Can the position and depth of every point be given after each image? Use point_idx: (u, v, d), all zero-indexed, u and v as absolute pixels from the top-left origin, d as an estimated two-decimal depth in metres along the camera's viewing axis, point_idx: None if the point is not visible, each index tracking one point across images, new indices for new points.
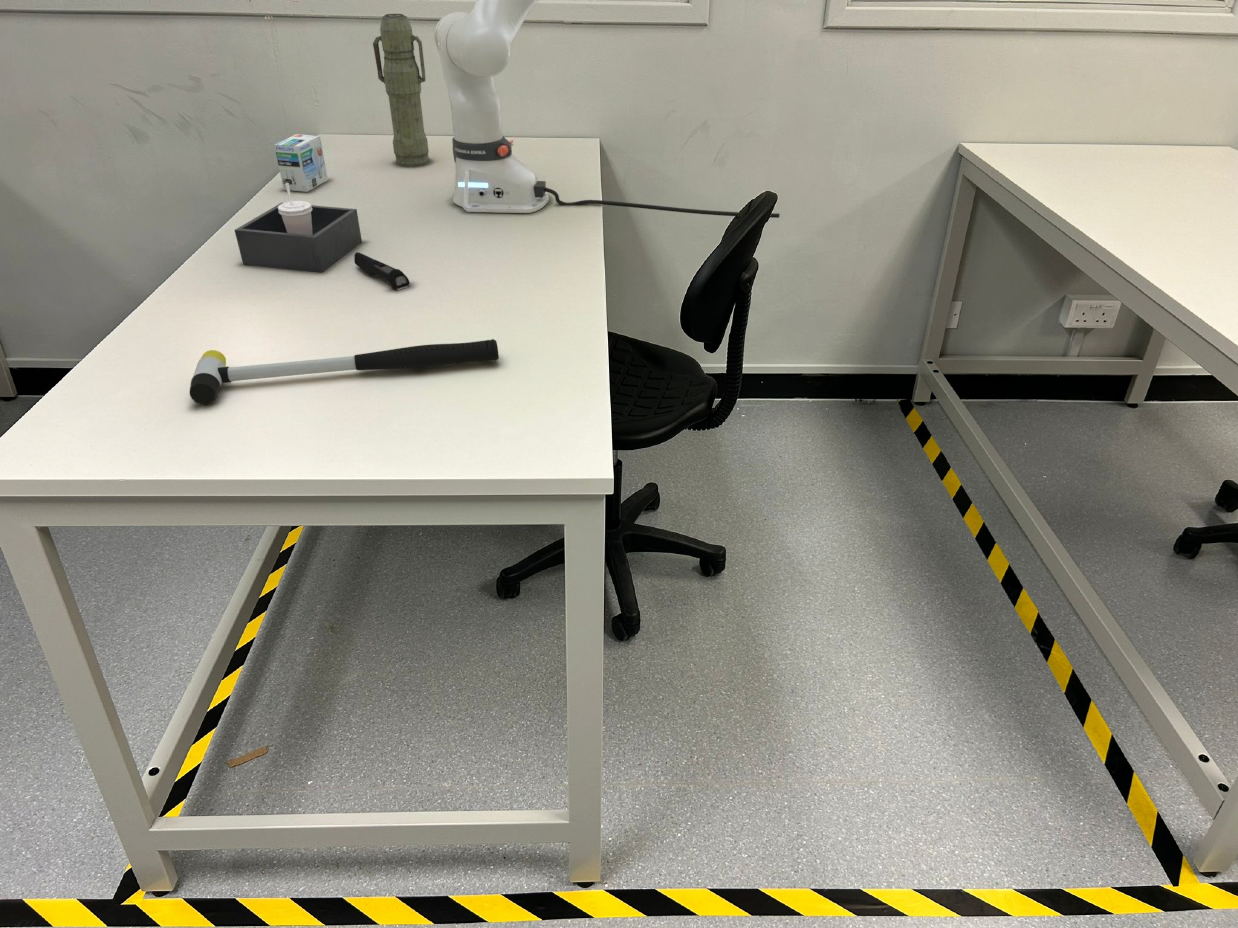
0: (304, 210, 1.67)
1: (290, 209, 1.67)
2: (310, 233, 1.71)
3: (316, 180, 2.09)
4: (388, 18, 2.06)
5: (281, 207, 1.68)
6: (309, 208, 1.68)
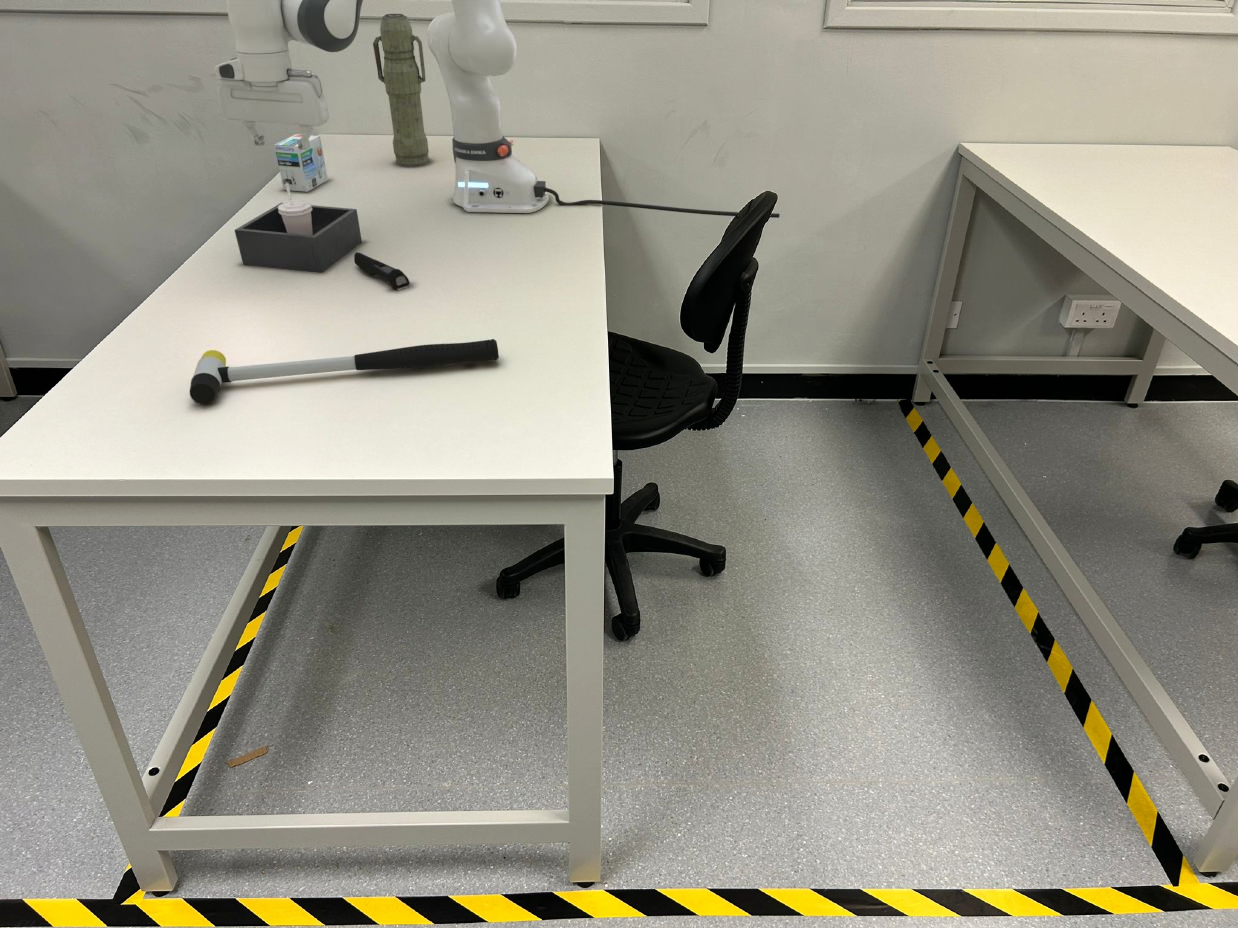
0: (304, 210, 1.67)
1: (290, 209, 1.67)
2: (310, 233, 1.71)
3: (316, 180, 2.09)
4: (388, 18, 2.06)
5: (281, 207, 1.68)
6: (309, 208, 1.68)
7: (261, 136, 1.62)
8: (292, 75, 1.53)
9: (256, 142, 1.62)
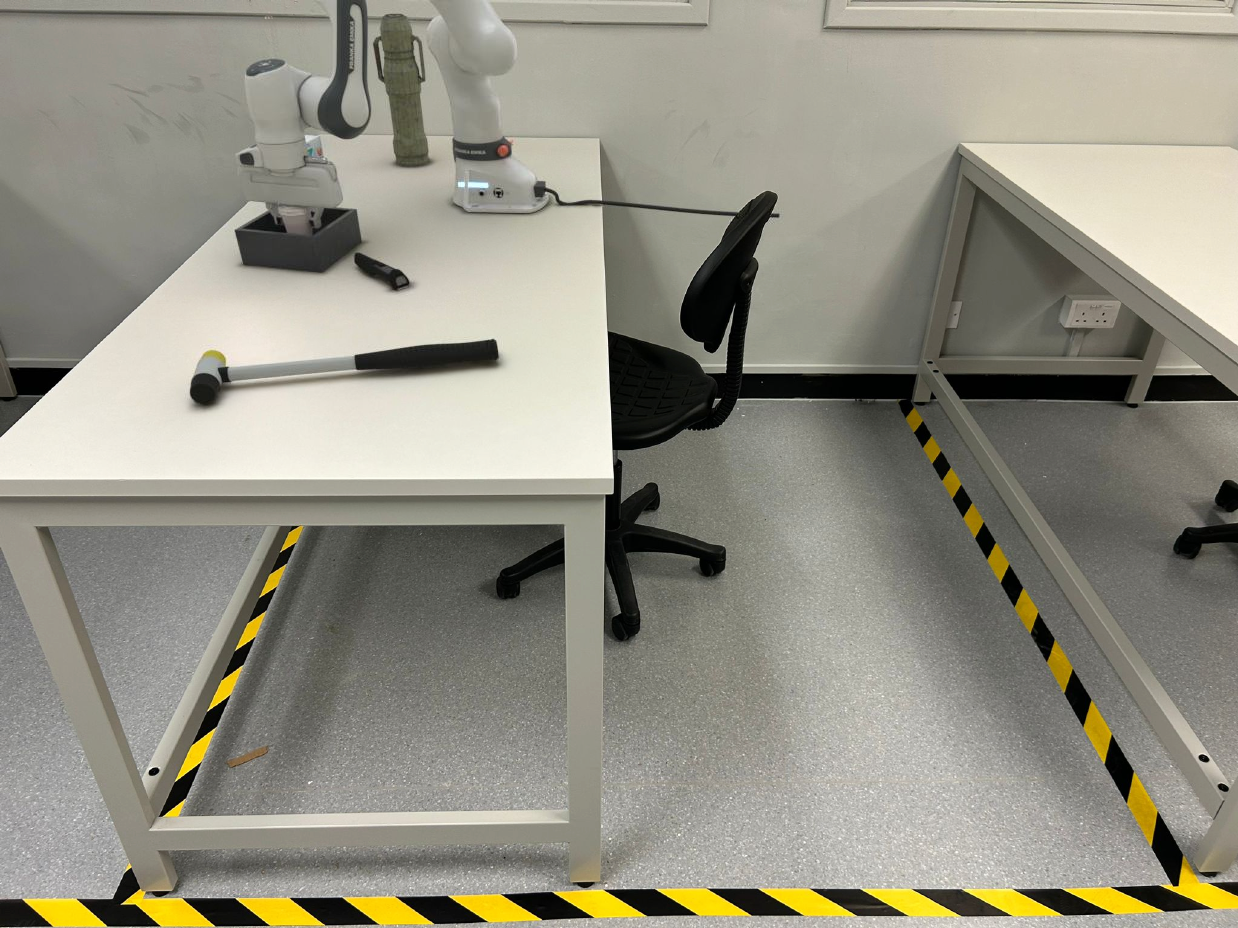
0: (304, 210, 1.67)
1: (290, 209, 1.67)
2: (310, 233, 1.71)
3: None
4: (388, 18, 2.06)
5: (281, 207, 1.68)
6: (309, 208, 1.68)
7: None
8: (308, 162, 1.62)
9: (278, 221, 1.70)
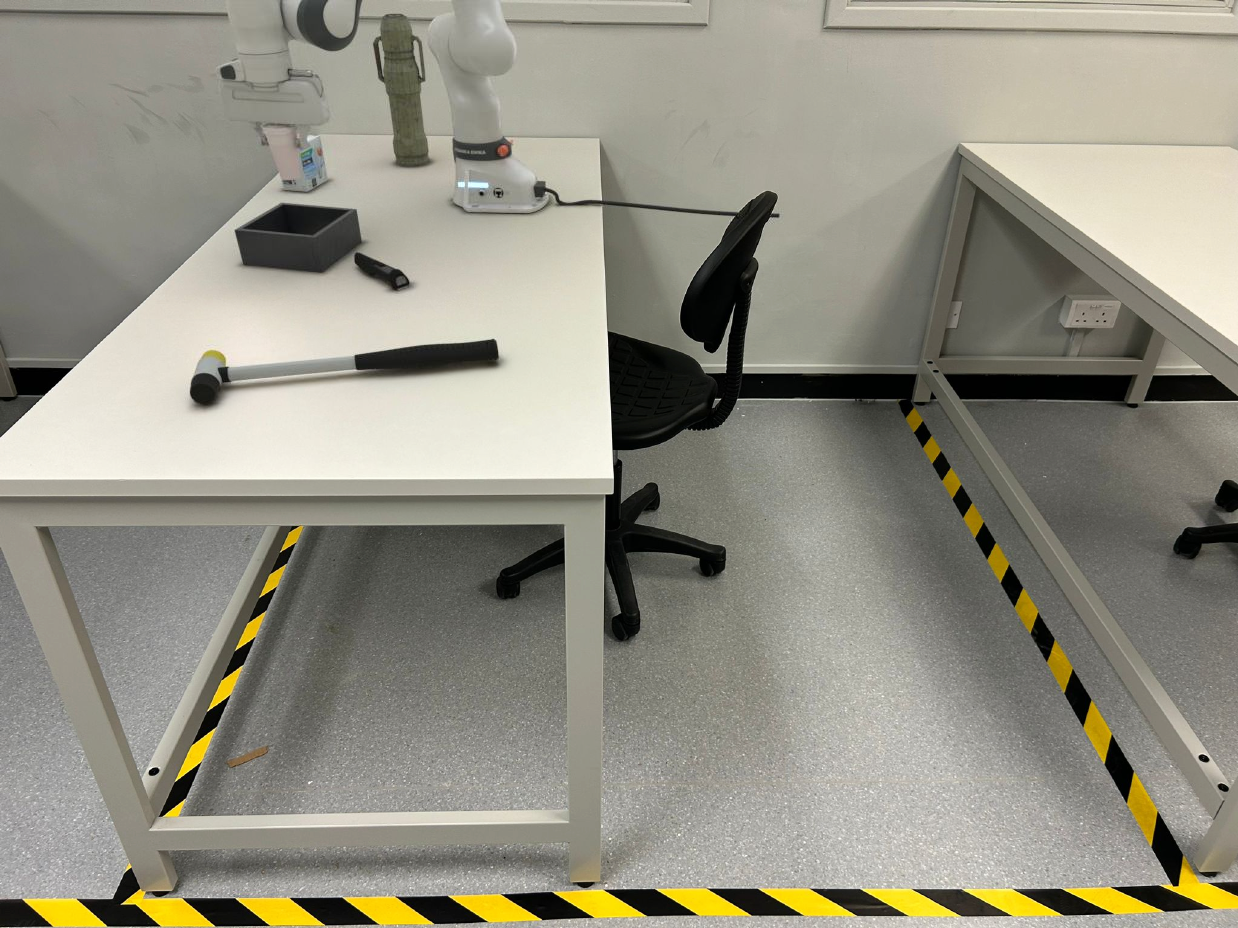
0: (289, 129, 1.59)
1: (275, 128, 1.58)
2: (296, 155, 1.63)
3: (316, 180, 2.09)
4: (388, 18, 2.06)
5: (265, 126, 1.59)
6: (295, 127, 1.60)
7: None
8: (293, 75, 1.54)
9: (263, 143, 1.62)
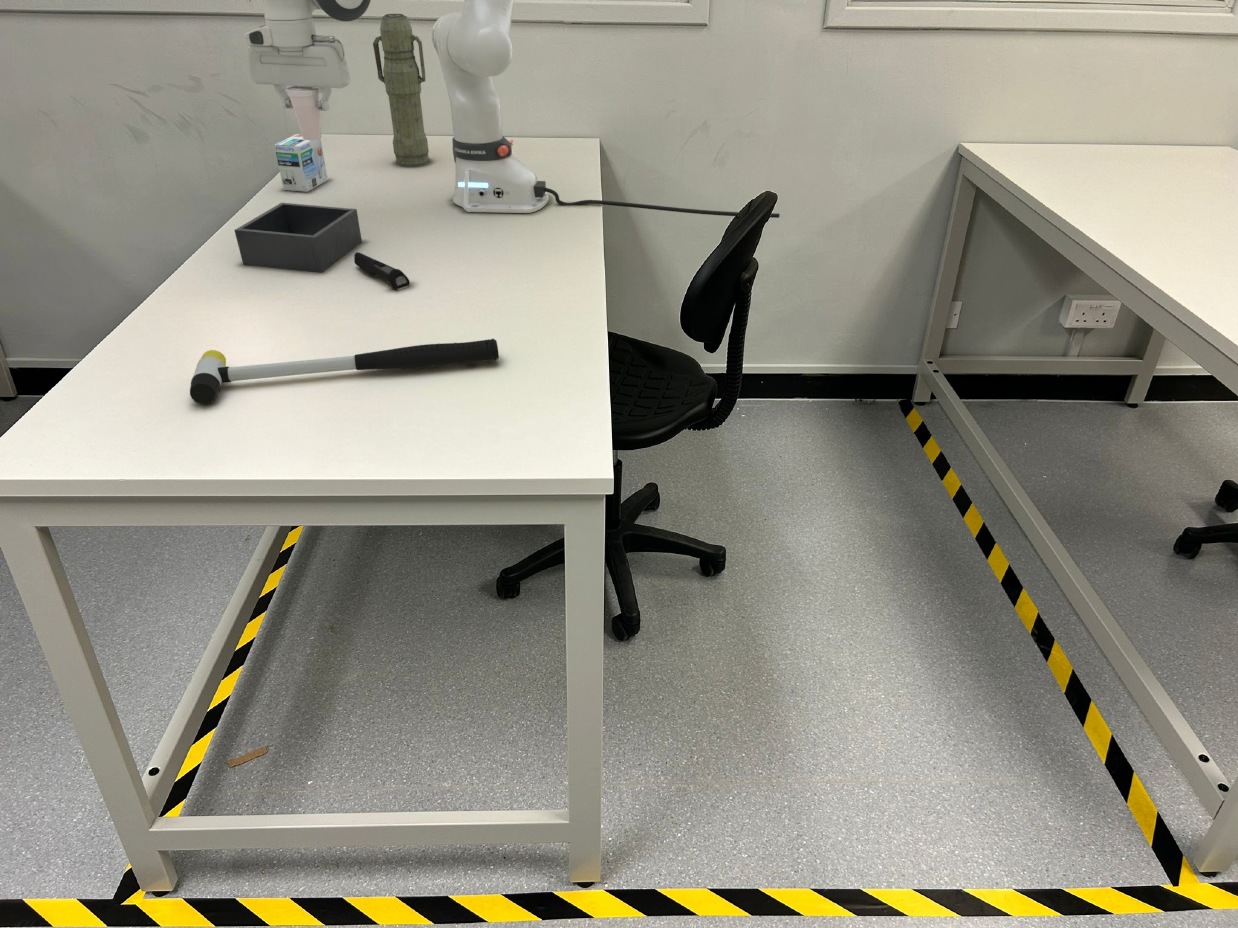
0: (312, 91, 1.71)
1: (298, 90, 1.71)
2: (318, 116, 1.75)
3: (316, 180, 2.09)
4: (388, 18, 2.06)
5: (289, 89, 1.72)
6: (317, 90, 1.72)
7: None
8: (316, 41, 1.66)
9: (287, 105, 1.74)
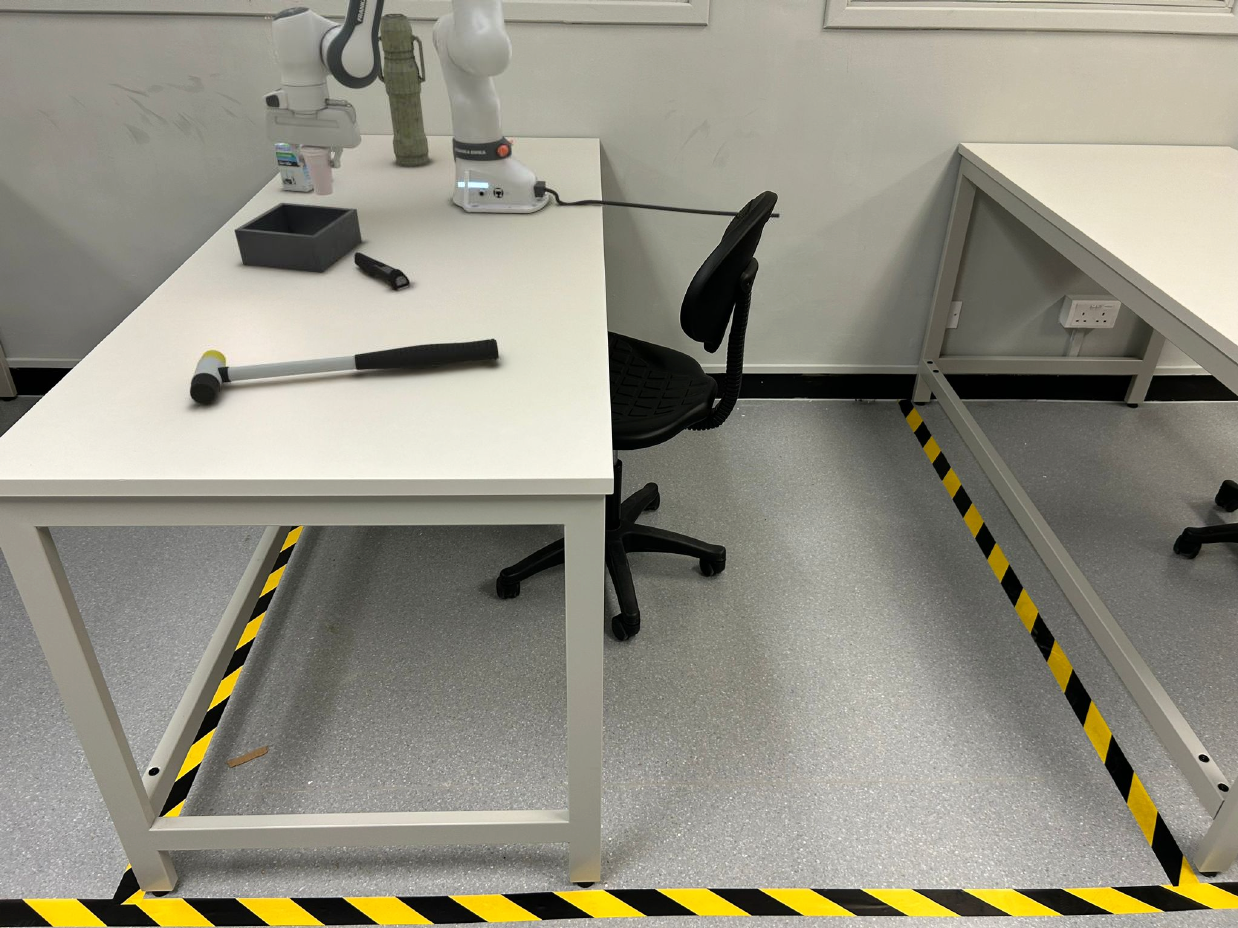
0: (325, 151, 1.80)
1: (312, 149, 1.79)
2: (330, 173, 1.83)
3: None
4: (388, 18, 2.06)
5: (303, 148, 1.80)
6: (329, 149, 1.81)
7: None
8: (330, 104, 1.75)
9: (301, 162, 1.83)
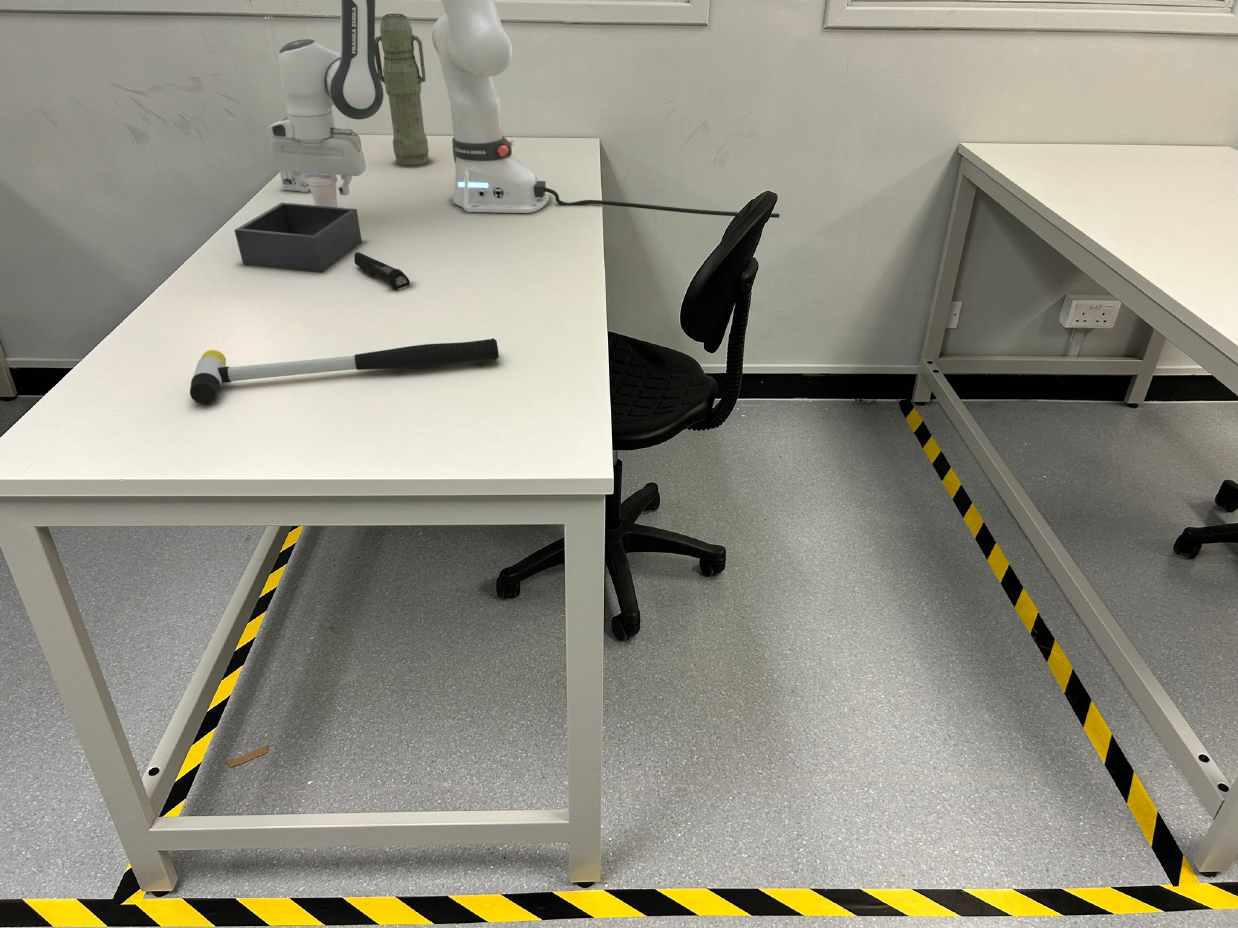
0: (330, 180, 1.83)
1: (317, 179, 1.83)
2: (335, 202, 1.87)
3: None
4: (388, 18, 2.06)
5: (309, 178, 1.84)
6: (334, 179, 1.84)
7: (307, 183, 1.87)
8: (335, 133, 1.78)
9: (303, 189, 1.86)
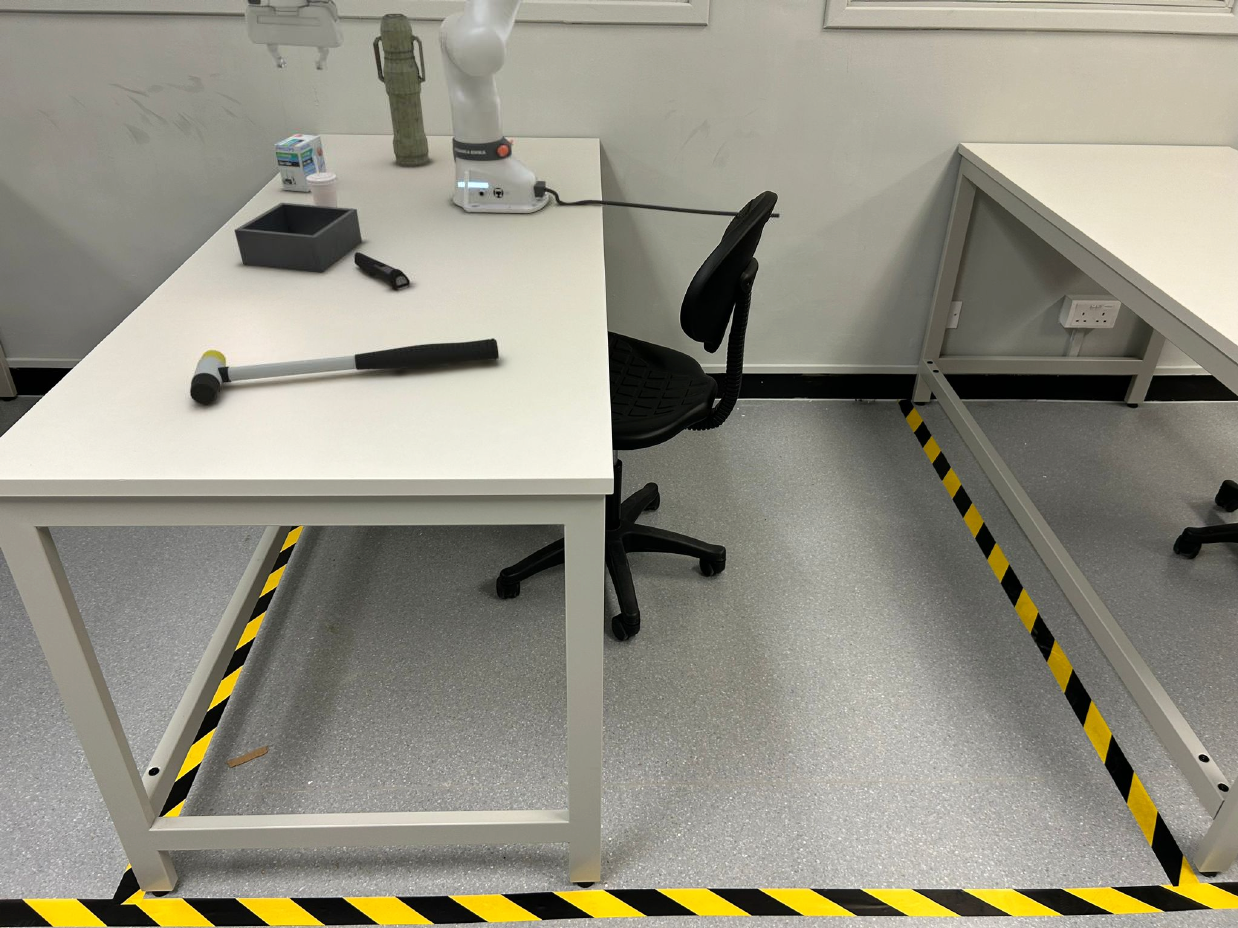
0: (330, 180, 1.83)
1: (317, 179, 1.83)
2: (335, 202, 1.87)
3: None
4: (388, 18, 2.06)
5: (309, 178, 1.84)
6: (334, 179, 1.84)
7: (283, 59, 1.82)
8: (311, 1, 1.74)
9: (279, 64, 1.82)
